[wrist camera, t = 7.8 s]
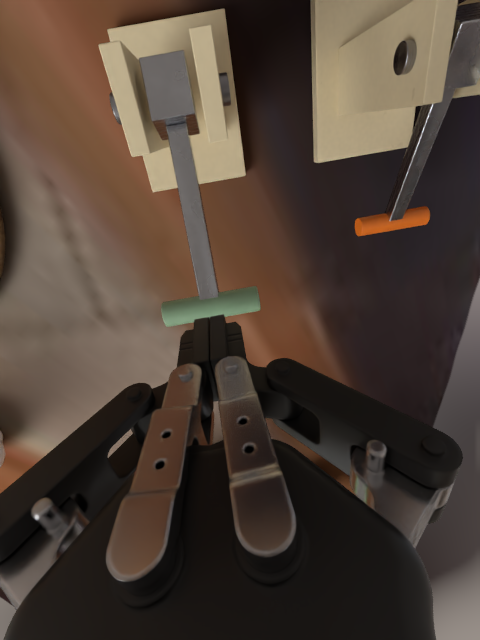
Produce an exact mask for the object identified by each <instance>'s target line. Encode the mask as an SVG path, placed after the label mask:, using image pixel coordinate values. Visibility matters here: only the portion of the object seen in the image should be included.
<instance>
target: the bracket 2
mask: <svg viewBox="0 0 480 640" xmlns="http://www.w3.org/2000/svg"><path fill="white" fill-rule="evenodd" d="M310 1H311V48H312V95H313V142H314V162H317V163H321V162H327V161H332V160H338V159H343V158H349V157H355V156H360V155H366V154H372V153H377V152H383V151H389V150H394V149H400V148H406V147H408V145H409V142H410V139H411V136H412V132H413V124H414V116H415V108H416V106H422V105H428V104H434V103H439V102H442V98H443V92H444V86H445V79H446V73H447V67H448V61H449V54H450V48H451V42H452V36H453V29H454V23H455V17H456V11H457V6H459V5H464V4H470V3H476V2H479V3H480V0H466V1H464V2H462V3H460V4H458V0H310ZM457 4H458V5H457ZM473 95H480V77H479V80H478V82H477V84H476V85H474V86H469V87H463V88H457V89H456V90H455V92H454V95H453V97H452V98H458V97H465V96H473Z"/></svg>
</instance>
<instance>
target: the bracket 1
mask: <svg viewBox="0 0 480 640" xmlns="http://www.w3.org/2000/svg"><path fill="white" fill-rule="evenodd" d="M107 31H108V35H109V38H110V42H108V43H102V44H99V49H100V52H101V56H102V59H103V62H104V66H105V69H106V72H107V76H108V79H109V82H110V86H111V89H112V92H111V93H110V95H109V96H110V103H111V107H112V110H113V113H114V116H115V118H116V120H117V122H118V123H119V124H120V125H122V126H123V129H124V133H125V136H126V139H127V143H128V146H129V150H130V153H131V156H132V157H135V156H141V155H142V156H143V159H144V163H145V166H146V170H147V173H148V177H149V180H150V184H151V188H152V191H153V192H158V191H163V190H169V189H175V188H178V187H177V182H176V177H175V172H174V166H173V161H172V156H171V151H170V146H169V141H168V140H162V139H161V138H160V136H159V134H158V132H157V130H156V128H155V126H154V125H153V123H152V121H151V117H150V112H149V107H148V102H147V97H146V92H145V87H144V83H143V78H142V73H141V68H140V63H139V58H141V57H147V56H152V55H158V54H164V53H169V52H175V51H181V50H184V52H185V57H186V61H187V66H188V71H189V75H190V80H191V85H192V91H193V96H194V102H195V107H196V113H197V119H198V124H199V130H200V134H196V135H191V136H190V139H191V144H192V149H193V155H194V160H195V165H196V171H197V176H198V182H199V184H203V183H208V182H214V181H220V180H225V179H231V178H237V177H242V176H246V172H245V164H244V156H243V148H242V140H241V133H240V125H239V117H238V109H237V101H236V94H235V86H234V78H233V70H232V62H231V54H230V47H229V39H228V31H227V23H226V15H225V9H218V10H213V11H207V12H201V13H196V14H190V15H185V16H179V17H173V18H168V19H162V20H156V21H151V22H145V23H140V24H134V25H128V26H123V27H117V28H112V29H107Z"/></svg>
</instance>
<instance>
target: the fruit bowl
mask: <svg viewBox="0 0 480 640" xmlns="http://www.w3.org/2000/svg"><path fill="white" fill-rule="evenodd" d="M4 260H5V232H4V224H3V218H2V212H1V208H0V279H1V277H2V272H3V267H4Z"/></svg>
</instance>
